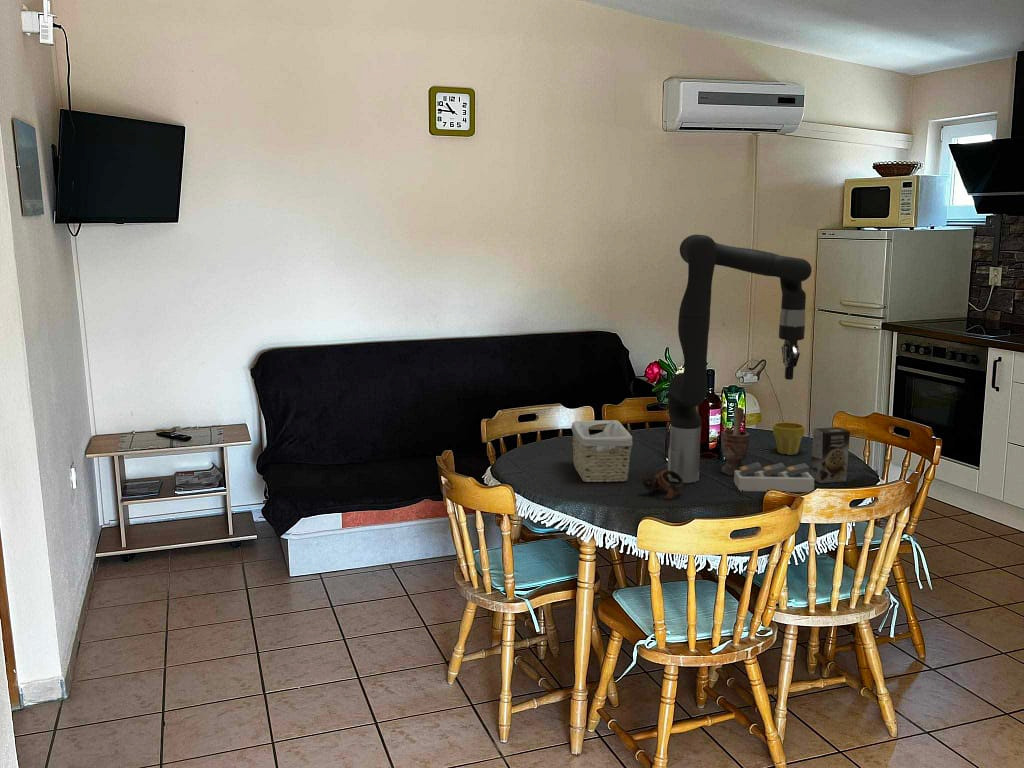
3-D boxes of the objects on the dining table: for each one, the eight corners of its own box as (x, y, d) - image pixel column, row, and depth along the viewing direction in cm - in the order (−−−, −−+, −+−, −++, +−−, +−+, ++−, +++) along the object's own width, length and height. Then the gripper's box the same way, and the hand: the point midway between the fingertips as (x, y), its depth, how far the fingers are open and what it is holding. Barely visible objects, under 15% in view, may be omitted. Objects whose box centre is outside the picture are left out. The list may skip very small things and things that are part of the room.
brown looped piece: (670, 489, 278) (682, 469, 273) (677, 511, 270) (689, 492, 266) (634, 481, 275) (645, 462, 270) (640, 504, 267) (651, 484, 263)
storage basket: (569, 462, 304) (570, 419, 301) (618, 462, 305) (619, 418, 302) (580, 484, 280) (581, 438, 278) (632, 483, 282) (634, 437, 279)
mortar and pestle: (715, 465, 301) (718, 406, 297) (742, 465, 300) (745, 406, 296) (722, 476, 289) (725, 414, 285) (749, 476, 289) (753, 414, 285)
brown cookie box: (821, 483, 282) (824, 432, 278) (809, 477, 288) (812, 427, 284) (847, 481, 284) (850, 431, 281) (834, 475, 290) (838, 426, 287)
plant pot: (768, 448, 322) (770, 421, 320) (798, 448, 321) (800, 421, 319) (775, 456, 311) (777, 428, 310) (806, 456, 311) (808, 428, 309)
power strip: (739, 491, 274) (739, 476, 273) (733, 482, 282) (734, 468, 281) (813, 492, 273) (814, 477, 272) (806, 484, 281) (807, 469, 280)
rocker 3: (790, 476, 275) (789, 471, 274) (786, 471, 279) (785, 467, 279) (810, 471, 274) (809, 466, 274) (806, 467, 278) (805, 462, 278)
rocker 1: (743, 475, 275) (741, 471, 275) (740, 471, 280) (738, 467, 279) (762, 470, 275) (761, 465, 274) (759, 465, 279) (758, 461, 279)
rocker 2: (766, 475, 275) (765, 470, 275) (763, 471, 279) (762, 466, 279) (786, 470, 274) (785, 466, 274) (782, 466, 279) (781, 462, 278)
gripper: (774, 320, 287) (771, 375, 291) (785, 326, 274) (781, 383, 278) (799, 320, 287) (795, 375, 290) (810, 326, 274) (806, 383, 277)
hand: (788, 379), depth 284 cm, fingers closed
